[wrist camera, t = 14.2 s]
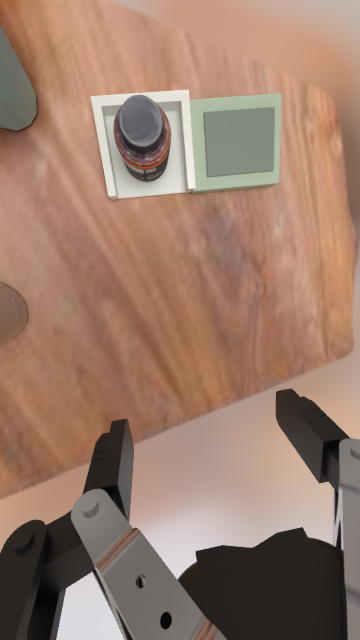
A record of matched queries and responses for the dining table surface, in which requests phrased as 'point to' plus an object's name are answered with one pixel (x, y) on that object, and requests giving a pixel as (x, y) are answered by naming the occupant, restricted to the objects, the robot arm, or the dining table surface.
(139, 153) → the supplement bottle
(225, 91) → the dining table surface
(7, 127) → the disposable coffee cup
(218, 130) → the green rectangular block
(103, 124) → the chute bracket
